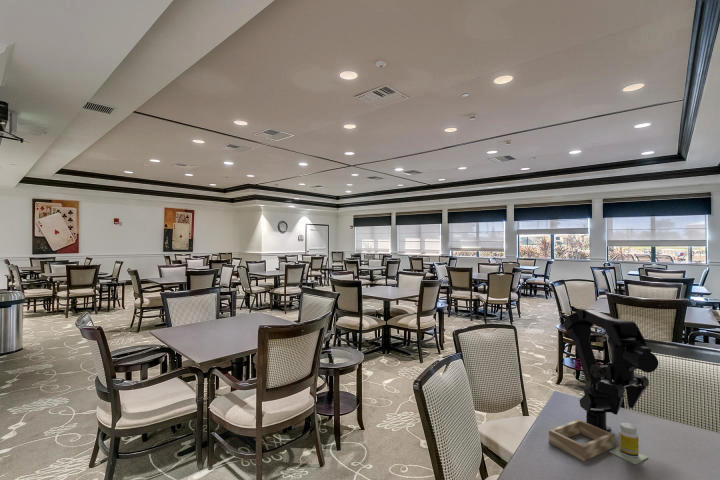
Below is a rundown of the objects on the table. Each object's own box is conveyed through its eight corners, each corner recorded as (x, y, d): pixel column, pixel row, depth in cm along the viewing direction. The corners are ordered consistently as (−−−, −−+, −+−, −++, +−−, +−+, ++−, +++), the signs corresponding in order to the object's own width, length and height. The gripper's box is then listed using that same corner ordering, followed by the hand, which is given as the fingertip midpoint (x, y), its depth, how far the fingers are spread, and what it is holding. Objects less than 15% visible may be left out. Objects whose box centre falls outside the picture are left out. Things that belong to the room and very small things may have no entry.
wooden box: (578, 431, 122) (578, 419, 122) (613, 447, 112) (613, 434, 112) (549, 442, 114) (548, 430, 114) (584, 461, 104) (584, 447, 104)
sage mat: (621, 446, 112) (621, 445, 112) (648, 458, 106) (647, 456, 106) (609, 452, 109) (609, 451, 109) (635, 464, 103) (635, 463, 103)
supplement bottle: (642, 459, 105) (641, 430, 105) (624, 457, 106) (623, 428, 106) (633, 450, 109) (632, 422, 110) (615, 448, 110) (615, 421, 111)
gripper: (611, 350, 123) (611, 395, 123) (579, 357, 114) (579, 406, 114) (649, 359, 113) (649, 408, 113) (617, 368, 104) (617, 422, 104)
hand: (622, 410), depth 111 cm, fingers open, 9 cm apart
